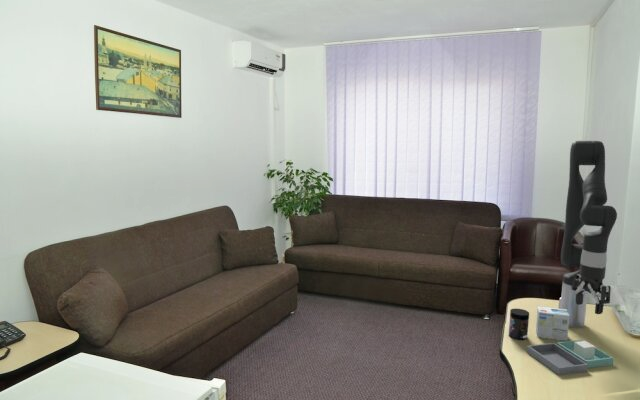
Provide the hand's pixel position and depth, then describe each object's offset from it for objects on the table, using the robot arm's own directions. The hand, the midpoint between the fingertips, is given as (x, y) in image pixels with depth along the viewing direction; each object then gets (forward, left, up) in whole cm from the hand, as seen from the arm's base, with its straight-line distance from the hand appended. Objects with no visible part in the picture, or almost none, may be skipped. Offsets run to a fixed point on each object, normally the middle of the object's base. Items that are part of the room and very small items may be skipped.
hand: (588, 308), depth 162 cm
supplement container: (-19, -13, -18) cm, 29 cm away
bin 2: (0, 0, -18) cm, 18 cm away
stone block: (0, 0, -18) cm, 18 cm away
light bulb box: (-17, 0, -18) cm, 25 cm away
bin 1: (+1, -12, -18) cm, 22 cm away
